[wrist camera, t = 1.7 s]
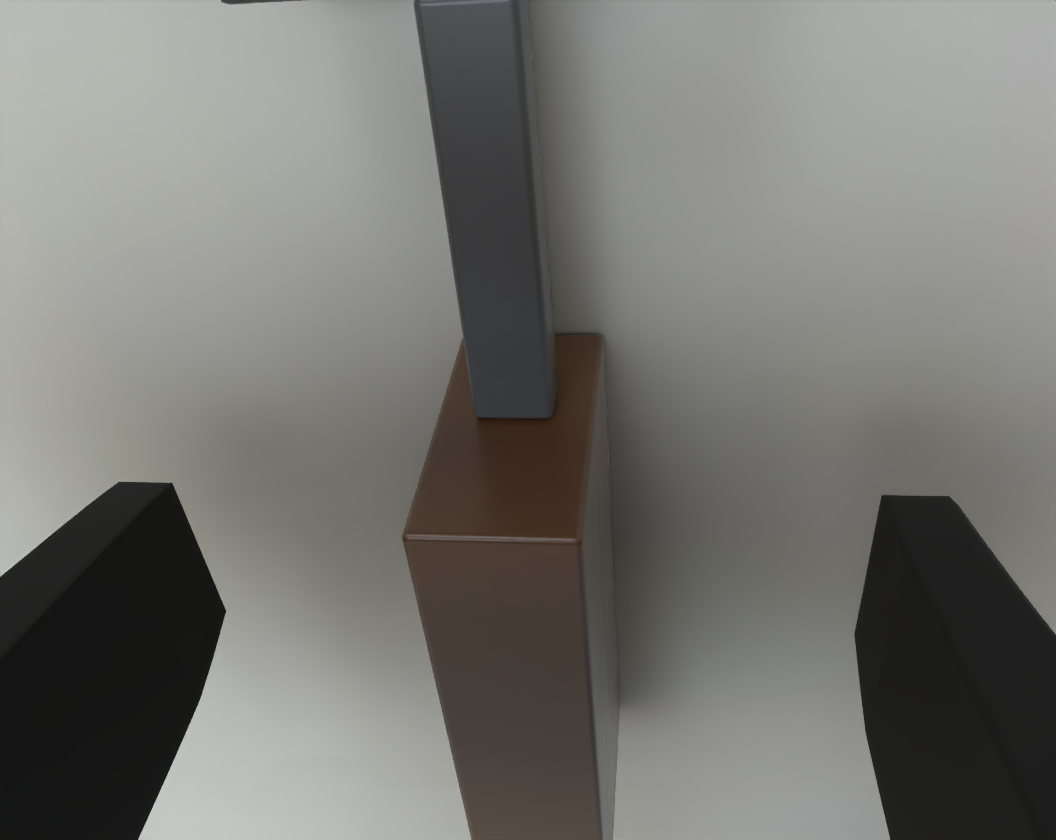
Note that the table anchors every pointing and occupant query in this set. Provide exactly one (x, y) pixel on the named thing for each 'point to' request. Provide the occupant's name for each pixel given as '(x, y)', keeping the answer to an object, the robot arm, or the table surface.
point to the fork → (513, 466)
